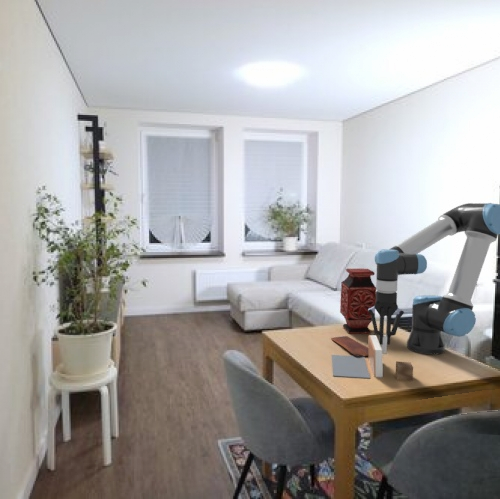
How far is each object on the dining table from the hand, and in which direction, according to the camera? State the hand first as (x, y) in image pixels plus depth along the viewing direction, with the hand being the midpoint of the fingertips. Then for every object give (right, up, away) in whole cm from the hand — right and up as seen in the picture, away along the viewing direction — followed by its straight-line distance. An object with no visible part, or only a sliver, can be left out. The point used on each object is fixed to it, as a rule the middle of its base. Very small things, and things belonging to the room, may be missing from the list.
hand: (384, 352), depth 165 cm
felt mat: (-12, -6, +3) cm, 14 cm away
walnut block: (+5, -7, -8) cm, 12 cm away
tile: (-3, -6, +1) cm, 7 cm away
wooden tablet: (-6, -4, +25) cm, 26 cm away
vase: (+2, -1, +50) cm, 50 cm away
